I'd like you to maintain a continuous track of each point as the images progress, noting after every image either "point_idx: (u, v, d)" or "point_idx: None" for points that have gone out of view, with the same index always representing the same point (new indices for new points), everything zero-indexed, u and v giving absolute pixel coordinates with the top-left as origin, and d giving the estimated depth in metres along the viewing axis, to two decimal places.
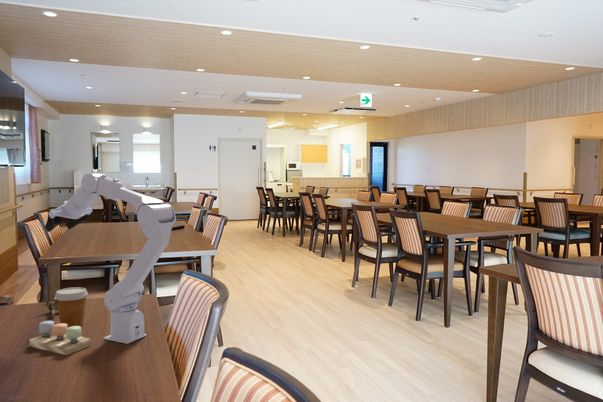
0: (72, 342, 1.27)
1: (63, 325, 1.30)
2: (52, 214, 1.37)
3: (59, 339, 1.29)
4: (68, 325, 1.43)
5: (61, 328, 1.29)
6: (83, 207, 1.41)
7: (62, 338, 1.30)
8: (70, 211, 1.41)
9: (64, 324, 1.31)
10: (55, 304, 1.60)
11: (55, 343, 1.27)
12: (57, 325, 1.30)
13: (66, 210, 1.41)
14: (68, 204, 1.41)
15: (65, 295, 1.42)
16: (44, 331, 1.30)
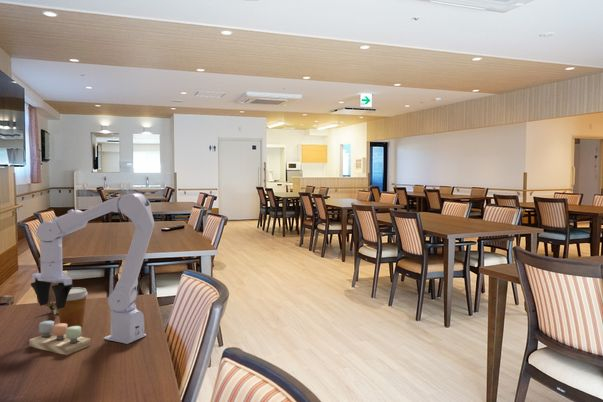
0: (72, 342, 1.27)
1: (63, 325, 1.30)
2: (70, 279, 1.32)
3: (59, 339, 1.29)
4: (68, 324, 1.43)
5: (61, 328, 1.29)
6: (60, 260, 1.34)
7: (62, 338, 1.30)
8: (61, 270, 1.35)
9: (64, 324, 1.31)
10: None
11: (55, 343, 1.27)
12: (57, 325, 1.30)
13: (59, 274, 1.34)
14: (56, 268, 1.33)
15: None
16: (44, 331, 1.30)
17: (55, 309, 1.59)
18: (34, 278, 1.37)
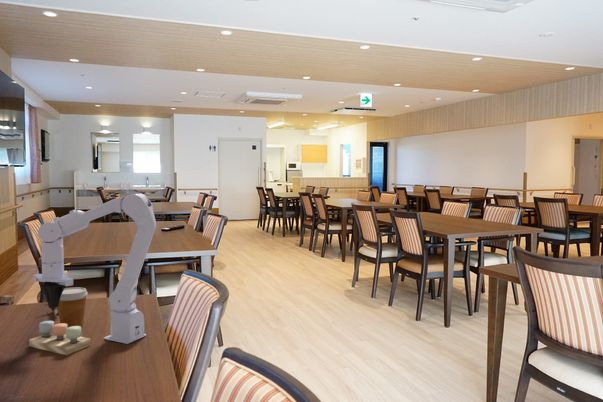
0: (72, 342, 1.27)
1: (63, 325, 1.30)
2: (71, 280, 1.32)
3: (59, 339, 1.29)
4: (68, 324, 1.43)
5: (61, 328, 1.29)
6: (61, 260, 1.33)
7: (62, 338, 1.30)
8: (62, 271, 1.34)
9: (64, 324, 1.31)
10: None
11: (55, 343, 1.27)
12: (57, 325, 1.30)
13: (60, 275, 1.33)
14: (57, 269, 1.32)
15: (65, 295, 1.42)
16: (44, 331, 1.30)
17: (56, 309, 1.59)
18: (35, 279, 1.36)
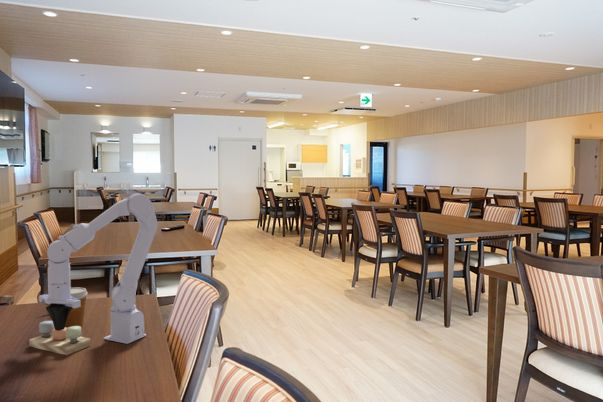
0: (72, 342, 1.27)
1: (63, 329, 1.30)
2: (79, 302, 1.27)
3: None
4: (68, 324, 1.43)
5: (61, 332, 1.29)
6: None
7: None
8: (69, 292, 1.30)
9: (64, 328, 1.31)
10: None
11: (55, 343, 1.27)
12: None
13: (67, 296, 1.29)
14: (64, 290, 1.28)
15: None
16: (44, 331, 1.30)
17: None
18: (41, 300, 1.31)
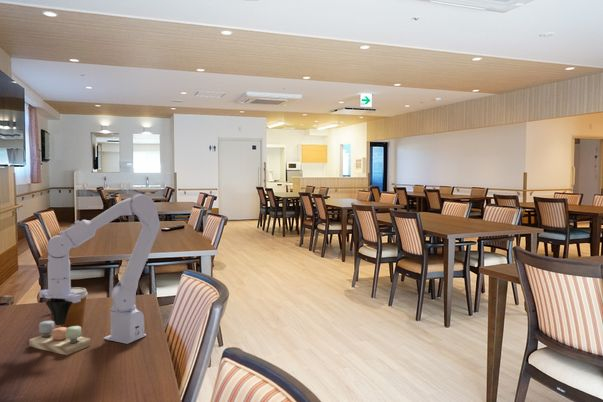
0: (72, 342, 1.27)
1: (63, 329, 1.30)
2: (79, 297, 1.27)
3: None
4: (68, 324, 1.43)
5: (61, 332, 1.29)
6: (69, 275, 1.30)
7: None
8: (69, 287, 1.30)
9: (64, 328, 1.31)
10: None
11: (55, 343, 1.27)
12: (57, 329, 1.30)
13: (67, 291, 1.29)
14: (64, 285, 1.28)
15: None
16: (44, 331, 1.30)
17: None
18: (41, 295, 1.31)
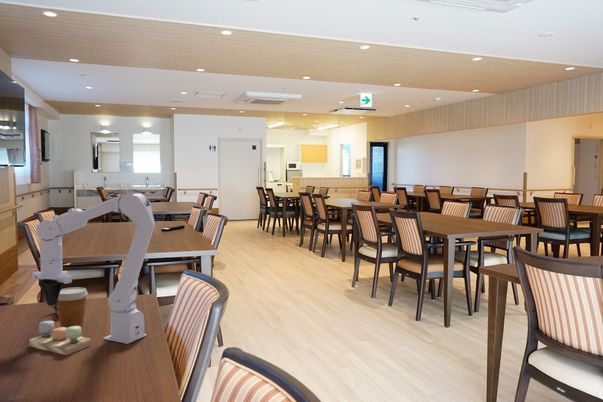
0: (72, 342, 1.27)
1: (63, 329, 1.30)
2: (70, 278, 1.32)
3: None
4: (68, 324, 1.43)
5: (61, 332, 1.29)
6: (60, 258, 1.34)
7: None
8: (61, 269, 1.35)
9: (64, 328, 1.31)
10: None
11: (55, 343, 1.27)
12: (57, 329, 1.30)
13: (59, 273, 1.34)
14: (56, 267, 1.33)
15: (65, 295, 1.42)
16: (44, 331, 1.30)
17: None
18: (34, 276, 1.36)
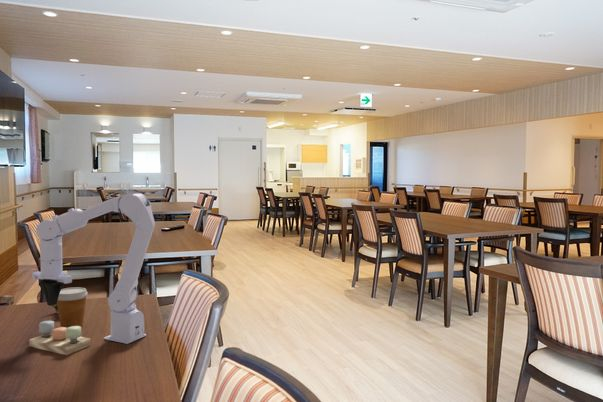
0: (72, 342, 1.27)
1: (63, 329, 1.30)
2: (70, 278, 1.32)
3: None
4: (68, 324, 1.43)
5: (61, 332, 1.29)
6: (60, 258, 1.34)
7: None
8: (61, 269, 1.35)
9: (64, 328, 1.31)
10: None
11: (55, 343, 1.27)
12: (57, 329, 1.30)
13: (59, 273, 1.34)
14: (56, 267, 1.33)
15: (65, 295, 1.42)
16: (44, 331, 1.30)
17: None
18: (34, 276, 1.37)
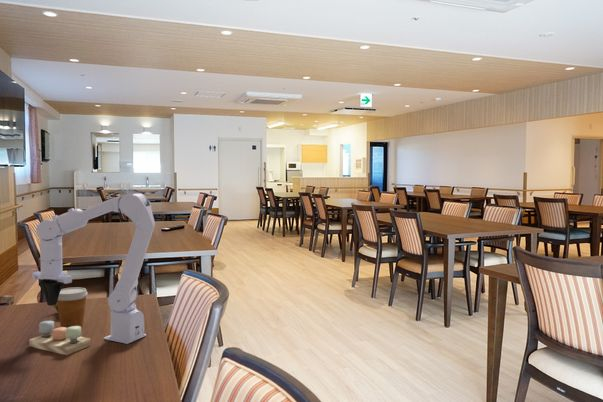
0: (72, 342, 1.27)
1: (63, 329, 1.30)
2: (70, 278, 1.32)
3: None
4: (68, 324, 1.43)
5: (61, 332, 1.29)
6: (60, 258, 1.34)
7: None
8: (61, 269, 1.35)
9: (64, 328, 1.31)
10: None
11: (55, 343, 1.27)
12: (57, 329, 1.30)
13: (59, 273, 1.34)
14: (56, 267, 1.33)
15: (65, 295, 1.42)
16: (44, 331, 1.30)
17: None
18: (34, 276, 1.37)
